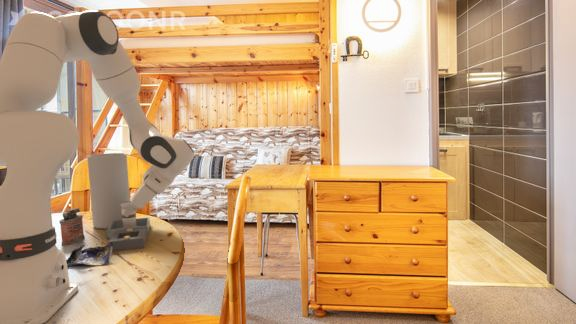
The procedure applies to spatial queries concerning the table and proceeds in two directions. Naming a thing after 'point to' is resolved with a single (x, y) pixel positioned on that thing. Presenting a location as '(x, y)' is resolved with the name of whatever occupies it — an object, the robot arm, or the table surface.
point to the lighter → (71, 227)
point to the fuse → (129, 220)
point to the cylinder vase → (108, 187)
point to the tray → (118, 224)
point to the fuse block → (128, 239)
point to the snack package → (90, 255)
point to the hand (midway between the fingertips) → (126, 212)
